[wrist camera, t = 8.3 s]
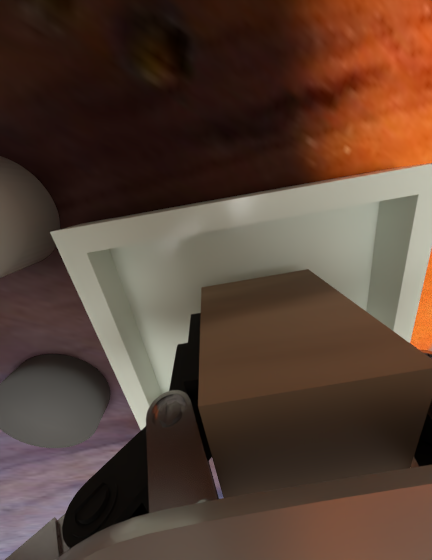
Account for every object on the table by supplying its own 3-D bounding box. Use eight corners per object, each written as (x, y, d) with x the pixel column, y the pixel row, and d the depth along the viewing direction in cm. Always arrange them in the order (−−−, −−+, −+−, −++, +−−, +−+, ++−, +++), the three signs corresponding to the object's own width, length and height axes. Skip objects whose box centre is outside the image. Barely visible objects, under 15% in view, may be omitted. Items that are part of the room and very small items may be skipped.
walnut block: (201, 287, 10) (197, 406, 4) (308, 268, 10) (441, 366, 4) (218, 368, 12) (230, 523, 6) (308, 353, 12) (401, 497, 6)
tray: (84, 222, 10) (49, 231, 8) (394, 167, 10) (451, 160, 8) (152, 398, 15) (143, 435, 13) (367, 361, 15) (398, 393, 12)
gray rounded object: (-3, 360, 13) (-36, 387, 11) (92, 344, 13) (74, 368, 11) (42, 423, 16) (20, 454, 14) (123, 410, 16) (112, 439, 14)
